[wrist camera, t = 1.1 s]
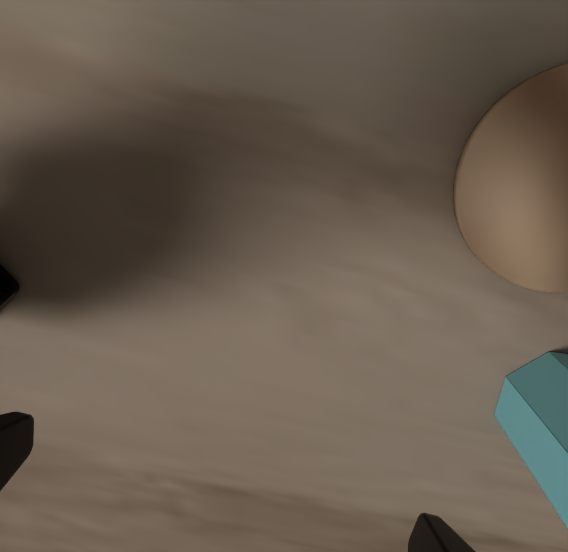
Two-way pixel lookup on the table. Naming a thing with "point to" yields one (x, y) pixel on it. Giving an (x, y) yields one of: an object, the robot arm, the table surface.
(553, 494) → the teal lidded canister
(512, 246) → the tan round disc
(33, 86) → the table surface
